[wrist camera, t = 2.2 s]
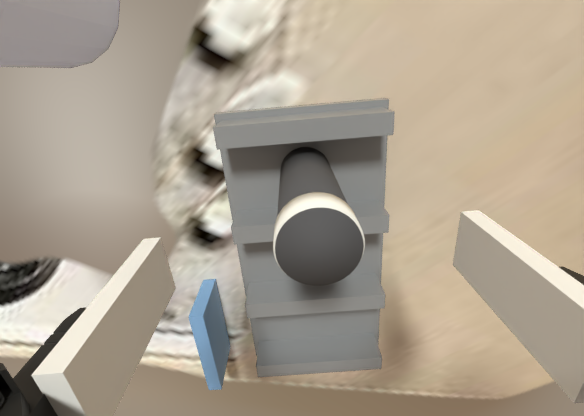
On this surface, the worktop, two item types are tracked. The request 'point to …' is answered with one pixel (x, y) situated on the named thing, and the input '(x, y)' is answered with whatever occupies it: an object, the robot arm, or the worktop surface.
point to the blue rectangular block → (210, 333)
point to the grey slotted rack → (261, 222)
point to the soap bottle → (55, 31)
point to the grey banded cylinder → (314, 222)
